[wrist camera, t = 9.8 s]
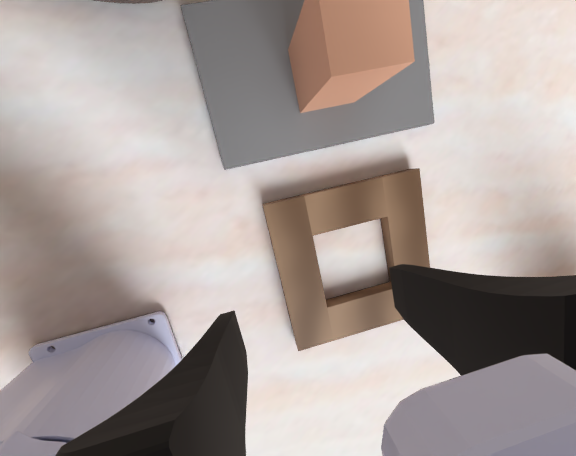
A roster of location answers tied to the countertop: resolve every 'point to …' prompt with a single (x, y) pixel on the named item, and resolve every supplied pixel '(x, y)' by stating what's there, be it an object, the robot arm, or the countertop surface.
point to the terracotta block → (348, 49)
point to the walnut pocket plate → (335, 215)
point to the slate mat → (289, 84)
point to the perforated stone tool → (129, 1)
